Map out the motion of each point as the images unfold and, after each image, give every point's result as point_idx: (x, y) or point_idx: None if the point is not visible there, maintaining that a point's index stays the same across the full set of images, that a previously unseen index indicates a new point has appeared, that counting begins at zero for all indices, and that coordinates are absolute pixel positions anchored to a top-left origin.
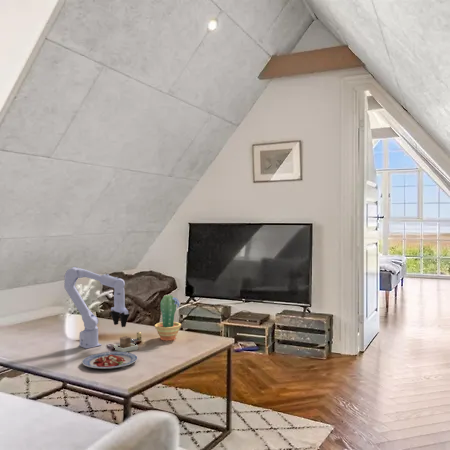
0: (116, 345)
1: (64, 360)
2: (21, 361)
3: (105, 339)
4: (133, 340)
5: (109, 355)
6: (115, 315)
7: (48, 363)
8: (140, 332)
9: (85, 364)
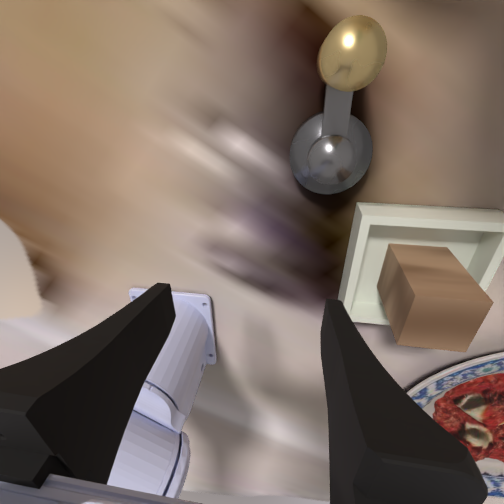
0: (350, 304)
1: (307, 453)
2: (219, 487)
3: (81, 204)
4: (355, 151)
5: (493, 428)
6: (110, 409)
7: (296, 478)
8: (359, 27)
9: None
